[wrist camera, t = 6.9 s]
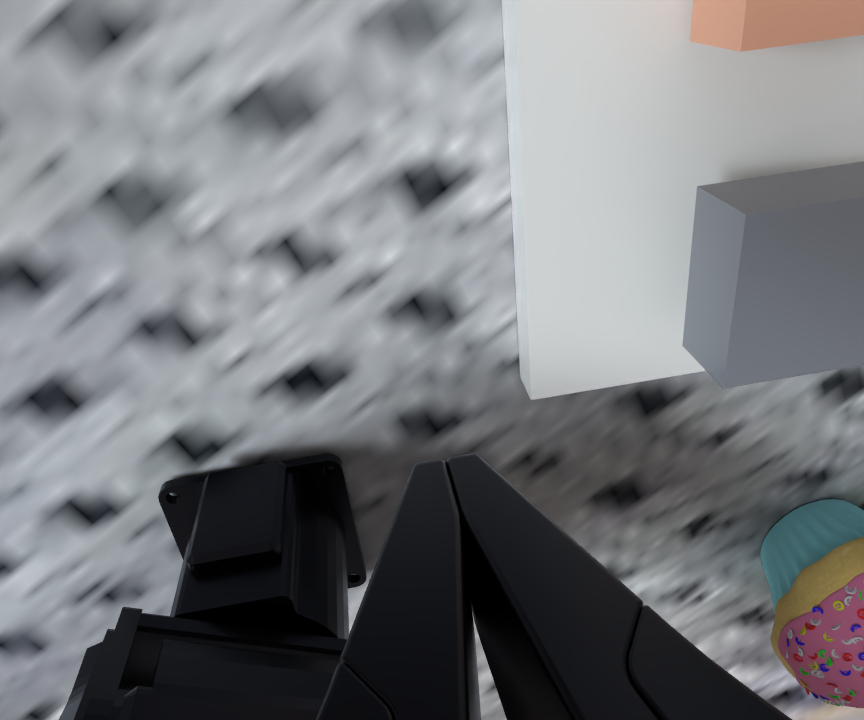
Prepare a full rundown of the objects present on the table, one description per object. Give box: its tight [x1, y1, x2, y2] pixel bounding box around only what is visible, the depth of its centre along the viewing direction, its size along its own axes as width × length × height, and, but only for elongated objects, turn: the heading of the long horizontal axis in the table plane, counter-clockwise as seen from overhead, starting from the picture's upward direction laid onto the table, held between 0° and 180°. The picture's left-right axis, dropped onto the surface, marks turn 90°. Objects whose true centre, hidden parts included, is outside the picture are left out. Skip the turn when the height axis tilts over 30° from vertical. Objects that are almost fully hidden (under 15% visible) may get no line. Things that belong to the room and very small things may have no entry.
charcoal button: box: [682, 161, 864, 389], centre depth 19 cm, size 5×5×2 cm
